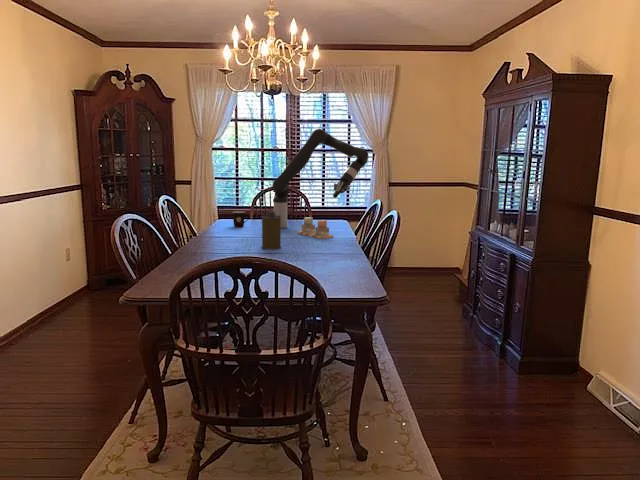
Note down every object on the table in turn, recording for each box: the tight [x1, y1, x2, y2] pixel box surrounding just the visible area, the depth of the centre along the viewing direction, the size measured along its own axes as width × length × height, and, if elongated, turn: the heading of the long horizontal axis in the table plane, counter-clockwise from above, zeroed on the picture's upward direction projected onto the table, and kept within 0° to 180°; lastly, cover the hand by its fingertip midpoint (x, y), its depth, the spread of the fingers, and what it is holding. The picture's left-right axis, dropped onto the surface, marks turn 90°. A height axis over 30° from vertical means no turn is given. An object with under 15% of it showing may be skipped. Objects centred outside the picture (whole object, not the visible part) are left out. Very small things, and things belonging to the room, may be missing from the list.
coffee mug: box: [232, 210, 252, 228], centre depth 355 cm, size 12×9×10 cm
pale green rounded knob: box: [303, 216, 314, 225], centre depth 331 cm, size 6×6×7 cm
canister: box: [261, 210, 282, 250], centre depth 286 cm, size 11×10×20 cm
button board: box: [296, 223, 334, 240], centre depth 326 cm, size 24×10×6 cm, turn 39°
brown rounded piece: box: [317, 219, 328, 228], centre depth 320 cm, size 6×6×7 cm
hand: (334, 197), depth 324 cm, fingers closed
